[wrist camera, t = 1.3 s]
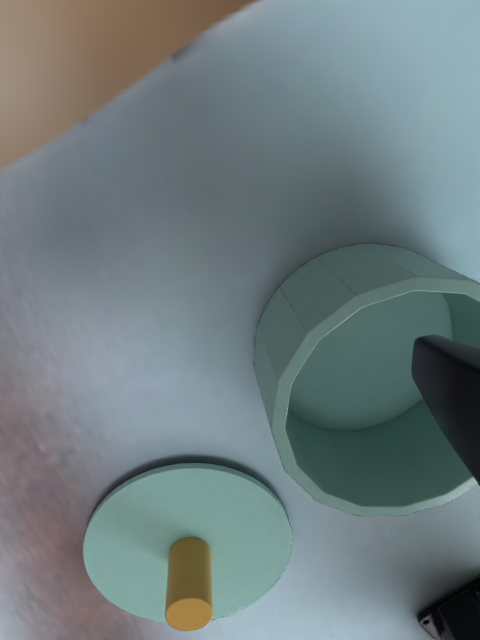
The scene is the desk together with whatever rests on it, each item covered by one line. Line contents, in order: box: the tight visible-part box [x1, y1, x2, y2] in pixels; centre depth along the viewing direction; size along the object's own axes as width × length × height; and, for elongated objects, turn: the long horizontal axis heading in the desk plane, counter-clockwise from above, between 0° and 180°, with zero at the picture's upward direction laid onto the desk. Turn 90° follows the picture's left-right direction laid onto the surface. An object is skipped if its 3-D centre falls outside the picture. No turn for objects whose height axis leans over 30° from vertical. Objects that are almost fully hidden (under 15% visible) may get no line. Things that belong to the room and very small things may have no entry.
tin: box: [253, 244, 480, 516], centre depth 21 cm, size 12×12×6 cm
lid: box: [83, 463, 292, 631], centre depth 26 cm, size 13×13×5 cm
